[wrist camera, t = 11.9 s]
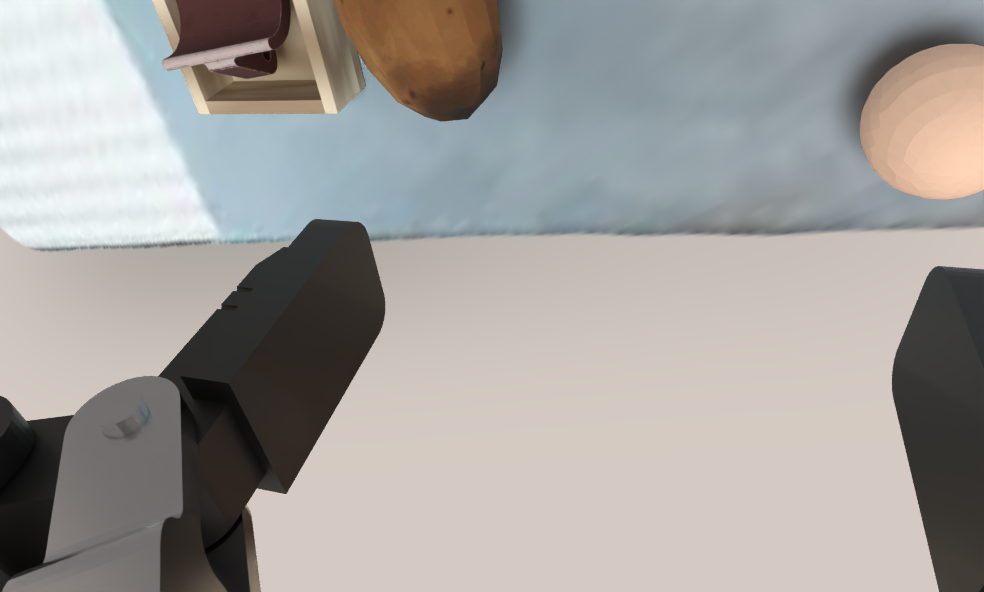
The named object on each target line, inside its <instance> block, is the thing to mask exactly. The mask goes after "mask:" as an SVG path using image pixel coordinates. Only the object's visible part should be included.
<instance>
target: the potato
mask: <svg viewBox="0 0 984 592" xmlns="http://www.w3.org/2000/svg"><path fill="white" fill-rule="evenodd" d="M333 1H334V4H335V7H336V9H337V12H338V15H339V18H340V21H341V24H342V26H343V27H344V29H345V31H346V33H347V34H348V36H349V38H350V39H351V41H352V43H353V44H354V46H355V48H356V50H357V51H358V53H359V55H360V56H361V58H362V60H363V62H364V63H365V65H366V67H367V68H368V70H369V71H370V72H371V73H372V74H373V75H374V76H375V77H376V79H377V80H378V81H379V82H380V83H381V84H382V85H383V86H384V87H385V89H386V90H387V91H388V92H389V93H390V94H391V95H392V96H393V97H394V99H395V100H396V101H397V102H399V103H400V104H402V105H404V106H406V107H408V108H410V109H412V110H413V111H415V112H417V113H419V114H421V115H423V116H425V117H428V118H431V119H435V120H438V121H451V120H462V119H468V118H469V117H470V116H471V115H472V114H473V113H474V111H475V110H476V109H477V108H478V107H479V106H480V105H481V104H482V103H483V102H484V101H485V100H486V98H487V97H488V96H489V94H490V93H491V92H492V91H493V89H494V88H495V87H496V86H497V82H498V75H499V69H500V63H501V56H502V50H503V48H502V40H501V31H500V22H499V13H498V5H497V0H333Z"/></svg>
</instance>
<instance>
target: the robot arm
mask: <svg viewBox="0 0 984 592" xmlns="http://www.w3.org/2000/svg"><path fill="white" fill-rule="evenodd" d="M384 316H385V297H384V293H383V289H382V286H381V281H380V277H379V274H378V270H377V266H376V262H375V259H374V255H373V251H372V247H371V243H370V240H369V236H368V233H367V230H366V228H365V227H364V226H363V225H362V224H361V223H359V222H350V221H336V220H322V219H315V220H312V221H311V222H310V223H309V224H308V225H307V226H306V227H305V228H304V229H303V231H302V232H301V233H300V234H299V235H298V236H297V238H296V239H295V240H294V241H293V242H292V244H291V245H290V246H289V247H283V248H281V249H280V250H278V251H277V252H275V253H274V254H272V255H271V256H270V257H268V258H266V259H265V260H263V261H262V262H260V263H258V264H257V265H256V266H255V267H254V268H253V269H252V270H251V271H250V272H249V274H248V275H247V276H246V277H245V278H244V279H243V280H242V282H241V283H240V284H239V285H238V286H237V291H233V292H232V293H231V295H229V296H228V298H227V299H226V300H225V301H224V302H223V303H222V308H221V310H220V309H217V310H216V311H215V312H214V313H213V315H212V316H211V317H210V318H209V319H208V320H207V321H206V323H205V324H204V325H203V326H202V327H201V328H200V329H199V331H198V332H197V333H196V334H195V335H194V336H193V337H192V338H191V340H190V341H189V342H188V343H187V344H186V345H185V346H184V348H183V349H182V350H181V351H180V352H179V353H178V354H177V356H176V357H175V358H174V359H173V360H172V361H171V362H170V364H169V365H168V366H167V367H166V368H165V369H164V370H163V372H162V373H161V374H160V375H159V376H158V377H156V376H143V377H137V378H132V379H128V380H125V381H122V382H120V383H117V384H115V385H113V386H111V387H109V388H106V389H105V390H103V391H101V392H100V393H98V394H97V395H95V396H94V397H93V398H91V399H90V400H89V401H88V402H86V403H85V404H84V405H83V406H82V407H81V408H80V409H79V410H78V411H77V412H76V414H75V415H71V416H63V417H55V418H47V419H39V420H31V421H26V420H25V419H24V418H23V417H22V416H21V414H20V413H19V412H18V411H17V410H16V408H15V407H14V406H13V405H12V404H11V403H10V402H9V401H8V400H7V399H6V398H4V397H2V396H0V592H261V589H260V581H259V573H258V565H257V556H256V548H255V540H254V531H253V523H252V516H251V512H250V510H249V508H248V506H247V503H248V501H249V500H250V498H251V497H252V495H253V493H254V492H255V490H256V489H257V488H258V489H263V490H269V491H273V492H278V493H283V494H287V492H288V490H289V488H290V487H291V485H292V483H293V481H294V480H295V478H296V476H297V475H298V473H299V471H300V469H301V467H302V466H303V464H304V462H305V461H306V459H307V457H308V456H309V454H310V452H311V450H312V449H313V447H314V445H315V443H316V442H317V440H318V438H319V437H320V435H321V433H322V431H323V430H324V428H325V426H326V424H327V423H328V421H329V419H330V418H331V416H332V414H333V412H334V411H335V409H336V407H337V405H338V404H339V402H340V400H341V399H342V397H343V395H344V393H345V391H346V390H347V388H348V386H349V385H350V383H351V381H352V379H353V378H354V376H355V374H356V373H357V371H358V369H359V367H360V366H361V364H362V362H363V360H364V359H365V357H366V355H367V353H368V352H369V350H370V348H371V347H372V345H373V343H374V342H375V340H376V338H377V336H378V335H379V333H380V330H381V328H382V325H383V321H384ZM892 392H893V398H894V403H895V407H896V411H897V415H898V420H899V424H900V428H901V432H902V436H903V440H904V445H905V449H906V453H907V457H908V461H909V466H910V470H911V474H912V478H913V483H914V487H915V491H916V496H917V500H918V504H919V508H920V512H921V516H922V521H923V525H924V529H925V534H926V537H927V542H928V546H929V550H930V555H931V559H932V563H933V567H934V572H935V576H936V580H937V584H938V588H939V592H984V270H983V269H969V268H956V267H943V266H937V267H935V268H933V269H932V271H931V272H930V273H929V275H928V276H927V278H926V281H925V283H924V285H923V288H922V290H921V293H920V295H919V298H918V300H917V303H916V305H915V308H914V310H913V313H912V315H911V318H910V320H909V323H908V325H907V327H906V330H905V332H904V335H903V337H902V339H901V342H900V345H899V347H898V349H897V352H896V356H895V359H894V365H893V372H892Z"/></svg>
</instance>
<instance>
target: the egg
mask: <svg viewBox="0 0 984 592" xmlns="http://www.w3.org/2000/svg"><path fill="white" fill-rule="evenodd" d="M860 139H861V145H862V147H863V150H864V152H865V155H866V157H867V160H868V162H869V163H870V165H871V166H872V168H873V169H874V171H875V172H876V173H877V174H878V175H879V176H880V177H882V178H883V179H884V180H885V181H886V182H887V183H888V184H890V185H891V186H892V187H894V188H896V189H898V190H900V191H902V192H905V193H909V194H912V195H916V196H920V197H924V198H929V199H953V198H961V197H965V196H968V195H972V194H975V193H977V192H980V191H982V190H984V47H983V46H979V45H975V44H945V45H939V46H935V47H932V48H928V49H925V50H923V51H920V52H917V53H915V54H913V55H911V56H909V57H907V58H906V59H904V60H903V61H901V62H900V63H899V64H897V65H896V66H894V67H893V68H891V69H890V70H889V71H888V72H887V73H886V74H885V75H884V76H883V77H882V78H881V79H880V80H879V81H878V82H877V83H876V85H875V86H874V88H873V89H872V91H871V93H870V95H869V97H868V99H867V101H866V103H865V105H864V108H863V110H862V114H861V122H860Z"/></svg>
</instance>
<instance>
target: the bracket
mask: <svg viewBox="0 0 984 592" xmlns="http://www.w3.org/2000/svg"><path fill="white" fill-rule="evenodd" d="M176 3H177V7H178V11H179V17H180V38H179V43H178V46H177V48H176V50H175V51H174V53H173V54H172V55H171V56H169V57H168V58H165V59H163V61H162V64H163V67H164V68H165V69H166V70H167V71H169V70H174V69H179V68H184V67H189V66H194V65H199V64H205V65H206V66H207V68H208V69H209V71H211V72H214V73H219V74H224V75H229V76H234V77H239V78H243V79H250V78H256V77H261V76H266V75H271V74H274V73H275V72H276V71H277V67H278V59H277V53H276V50H275V49H278V48H279V47H281V46H282V45H283V44H284V42H285V40H286V38H287V36H288V33H289V28H290V21H291V5H290V0H176Z"/></svg>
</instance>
